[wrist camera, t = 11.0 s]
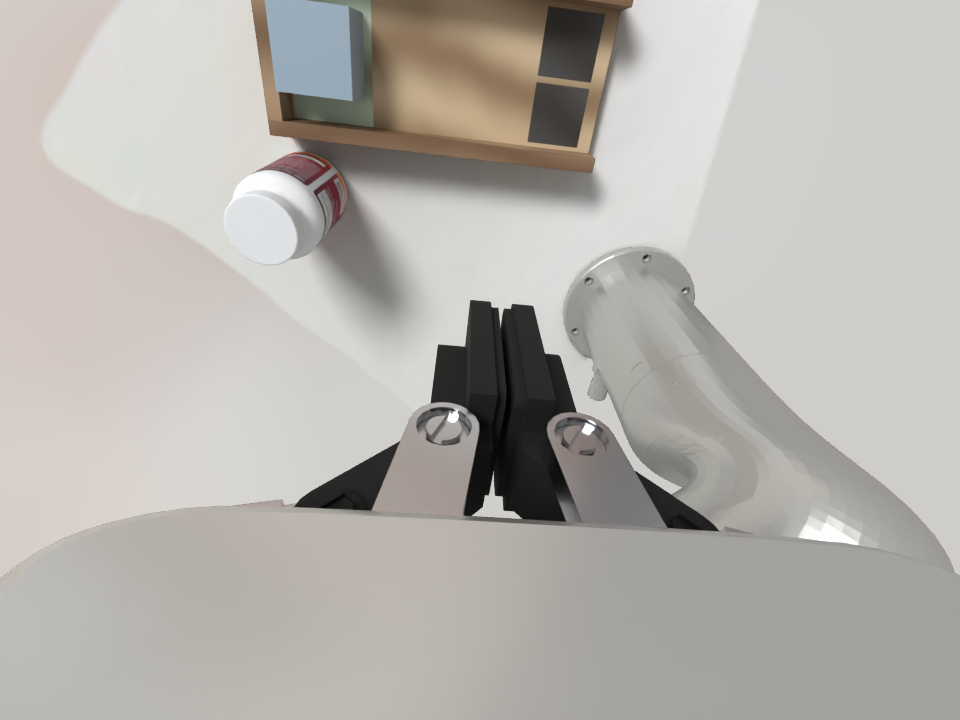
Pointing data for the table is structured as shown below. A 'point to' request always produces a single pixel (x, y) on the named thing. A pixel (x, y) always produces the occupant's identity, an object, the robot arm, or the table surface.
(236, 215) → the pill bottle
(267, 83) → the box
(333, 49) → the block
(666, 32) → the table surface
